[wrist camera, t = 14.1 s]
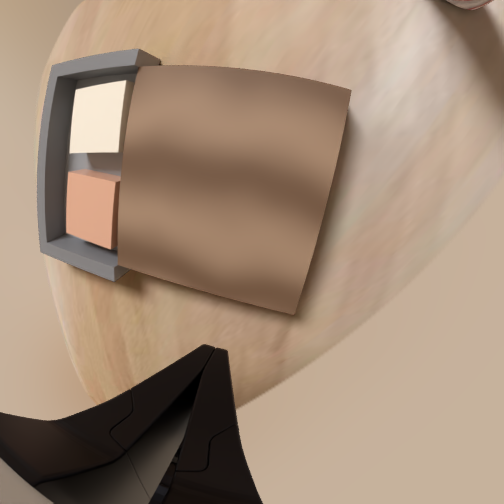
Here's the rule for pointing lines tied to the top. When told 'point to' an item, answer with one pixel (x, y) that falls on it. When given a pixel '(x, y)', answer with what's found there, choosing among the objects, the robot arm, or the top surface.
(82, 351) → the top surface
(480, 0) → the soda can
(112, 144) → the cream tile
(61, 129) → the box
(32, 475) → the robot arm
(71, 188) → the terracotta tile
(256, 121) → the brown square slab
